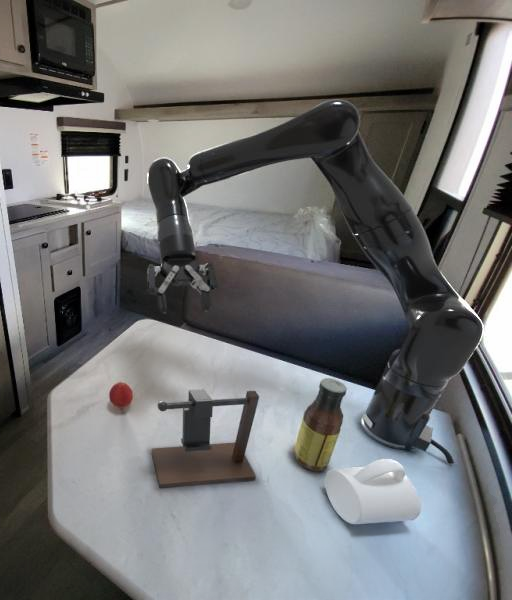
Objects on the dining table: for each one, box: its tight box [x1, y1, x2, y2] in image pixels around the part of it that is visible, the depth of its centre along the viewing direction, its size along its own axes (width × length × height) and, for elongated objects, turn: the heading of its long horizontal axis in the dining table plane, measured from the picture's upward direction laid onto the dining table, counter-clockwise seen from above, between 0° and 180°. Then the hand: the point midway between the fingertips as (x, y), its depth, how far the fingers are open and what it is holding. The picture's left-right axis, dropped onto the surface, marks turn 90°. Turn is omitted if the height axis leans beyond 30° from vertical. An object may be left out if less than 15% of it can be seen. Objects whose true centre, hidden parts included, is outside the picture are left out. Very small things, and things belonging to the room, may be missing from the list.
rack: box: [151, 390, 260, 489], centre depth 61 cm, size 8×19×19 cm, turn 94°
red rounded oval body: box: [108, 380, 134, 409], centre depth 79 cm, size 6×6×8 cm
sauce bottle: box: [293, 377, 348, 472], centre depth 62 cm, size 7×6×20 cm
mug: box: [324, 458, 422, 525], centre depth 55 cm, size 8×10×12 cm
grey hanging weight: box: [180, 388, 214, 451], centre depth 59 cm, size 5×5×12 cm
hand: (185, 311), depth 65 cm, fingers open, 8 cm apart
